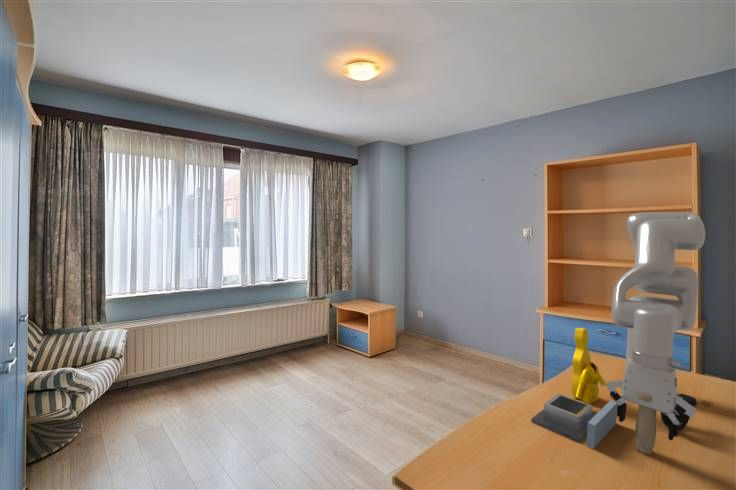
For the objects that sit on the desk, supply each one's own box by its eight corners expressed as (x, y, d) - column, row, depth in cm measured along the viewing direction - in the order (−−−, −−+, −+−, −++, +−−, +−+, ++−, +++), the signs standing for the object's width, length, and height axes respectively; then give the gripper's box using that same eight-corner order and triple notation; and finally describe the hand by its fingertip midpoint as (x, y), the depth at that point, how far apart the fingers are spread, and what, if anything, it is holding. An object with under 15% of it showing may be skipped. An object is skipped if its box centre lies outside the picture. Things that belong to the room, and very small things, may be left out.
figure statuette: (583, 411, 105) (587, 338, 104) (557, 400, 112) (560, 331, 110) (611, 396, 115) (616, 329, 113) (585, 386, 121) (589, 323, 120)
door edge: (609, 420, 101) (610, 400, 100) (616, 423, 99) (617, 402, 99) (586, 445, 89) (587, 422, 88) (593, 449, 88) (595, 425, 87)
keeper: (558, 401, 111) (558, 387, 111) (602, 418, 102) (603, 402, 102) (531, 421, 99) (532, 406, 99) (578, 442, 90) (579, 425, 90)
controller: (654, 428, 97) (657, 392, 97) (678, 418, 103) (681, 384, 102) (673, 436, 93) (676, 399, 93) (697, 426, 99) (700, 391, 98)
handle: (663, 454, 86) (668, 394, 85) (645, 460, 84) (650, 398, 83) (642, 442, 91) (646, 385, 90) (625, 447, 88) (629, 388, 87)
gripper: (702, 367, 82) (696, 439, 83) (613, 346, 95) (609, 409, 96) (696, 375, 77) (690, 452, 78) (604, 352, 90) (600, 418, 91)
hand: (645, 428), depth 87 cm, fingers open, 9 cm apart
